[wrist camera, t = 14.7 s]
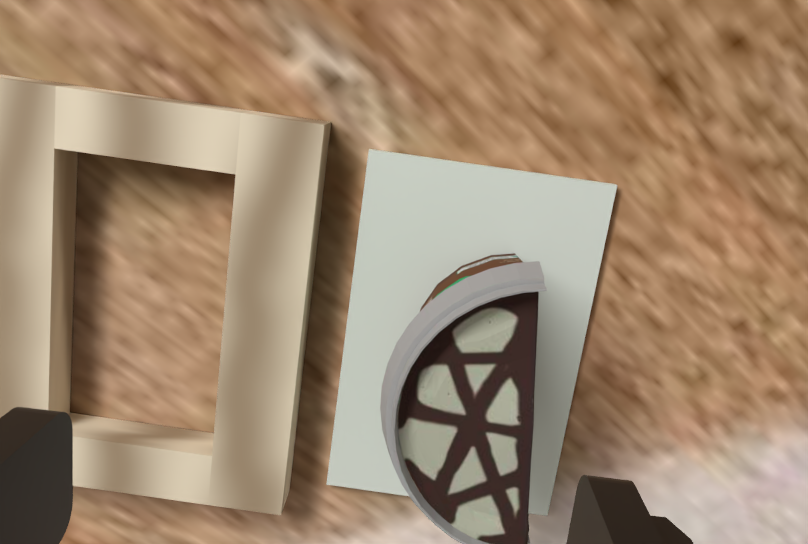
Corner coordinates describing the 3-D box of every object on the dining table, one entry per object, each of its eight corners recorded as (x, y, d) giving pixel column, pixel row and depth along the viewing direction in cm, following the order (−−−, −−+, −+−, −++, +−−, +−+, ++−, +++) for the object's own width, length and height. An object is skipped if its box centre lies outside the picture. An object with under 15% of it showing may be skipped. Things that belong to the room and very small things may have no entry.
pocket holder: (331, 122, 36) (324, 124, 34) (289, 490, 41) (281, 515, 39) (1, 74, 36) (-29, 74, 34) (-1, 449, 41) (-27, 471, 38)
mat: (614, 184, 36) (617, 185, 36) (545, 510, 41) (547, 516, 40) (369, 148, 36) (368, 149, 36) (327, 479, 41) (326, 484, 40)
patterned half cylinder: (389, 222, 37) (375, 272, 27) (516, 223, 36) (547, 274, 27) (390, 451, 40) (377, 571, 30) (507, 454, 39) (532, 574, 30)
